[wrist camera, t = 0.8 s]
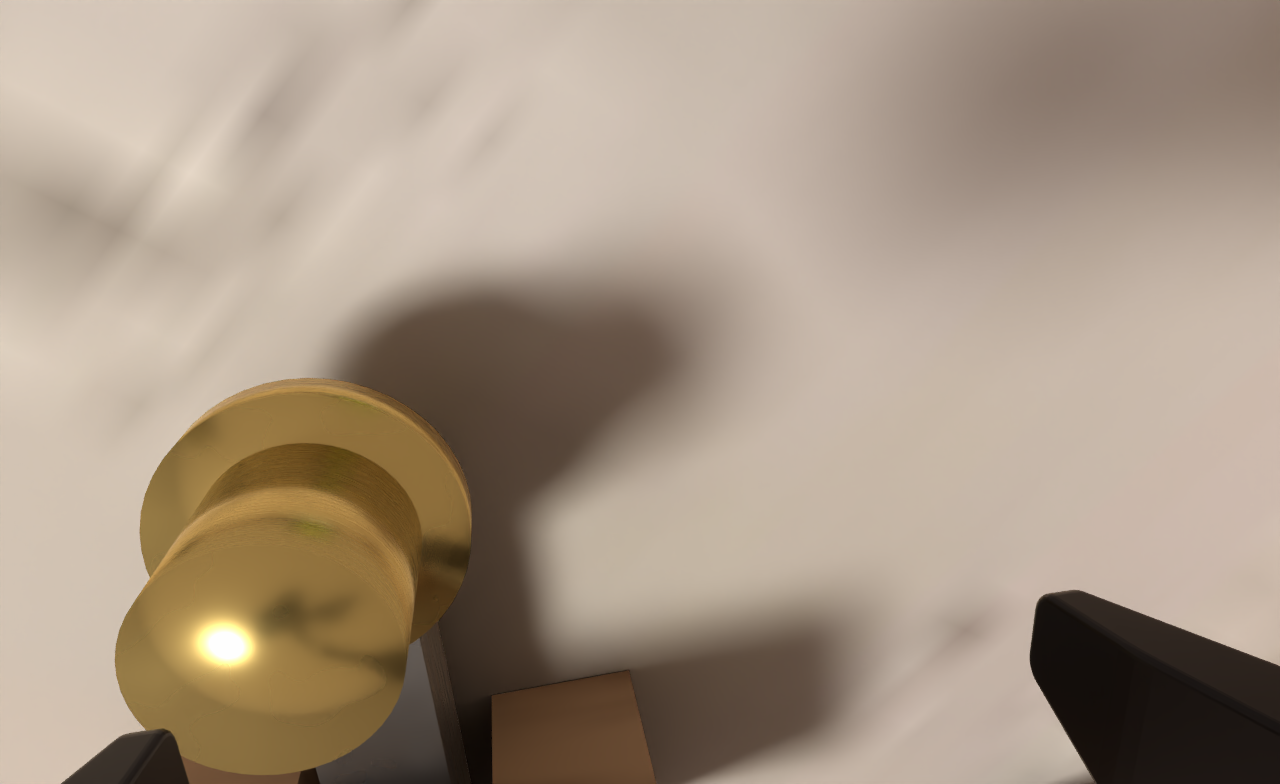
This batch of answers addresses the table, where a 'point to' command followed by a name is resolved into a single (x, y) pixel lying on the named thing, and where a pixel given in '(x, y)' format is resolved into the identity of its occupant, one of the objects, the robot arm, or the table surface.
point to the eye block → (537, 738)
